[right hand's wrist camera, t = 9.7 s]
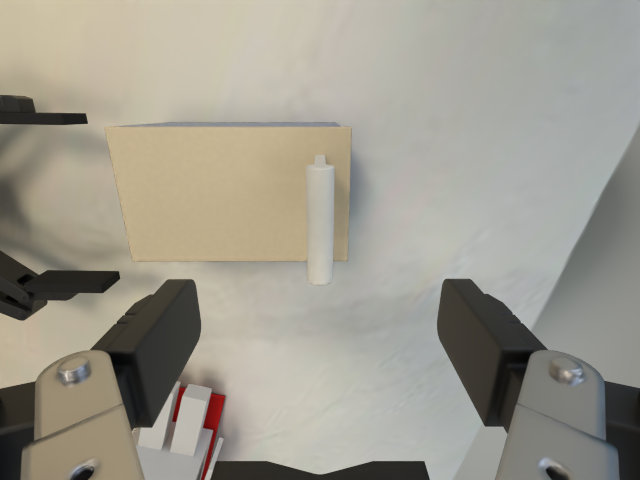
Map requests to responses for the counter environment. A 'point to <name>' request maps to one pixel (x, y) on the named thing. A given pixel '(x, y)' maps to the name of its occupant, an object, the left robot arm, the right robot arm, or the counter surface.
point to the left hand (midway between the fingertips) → (95, 207)
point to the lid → (235, 193)
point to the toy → (182, 436)
